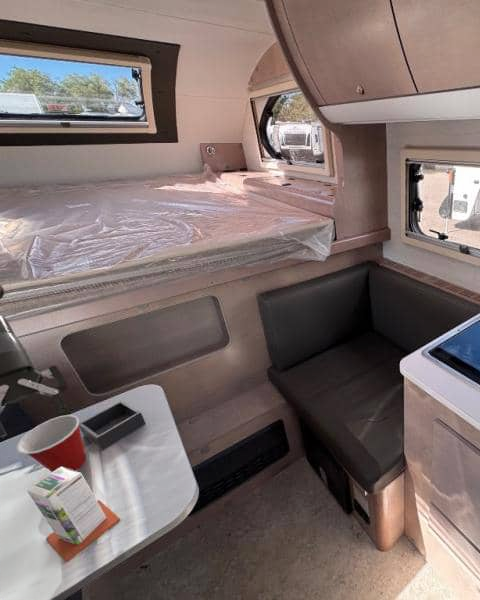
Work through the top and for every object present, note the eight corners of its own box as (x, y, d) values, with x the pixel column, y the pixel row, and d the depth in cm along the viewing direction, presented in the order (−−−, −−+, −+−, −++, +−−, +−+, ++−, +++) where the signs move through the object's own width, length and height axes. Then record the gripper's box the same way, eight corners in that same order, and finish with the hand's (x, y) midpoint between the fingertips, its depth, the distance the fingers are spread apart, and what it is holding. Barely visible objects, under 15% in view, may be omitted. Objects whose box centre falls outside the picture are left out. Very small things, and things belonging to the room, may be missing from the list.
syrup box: (57, 538, 66) (23, 492, 60) (88, 510, 71) (60, 464, 65) (78, 546, 65) (45, 499, 59) (108, 516, 70) (81, 471, 64)
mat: (66, 562, 63) (66, 561, 62) (46, 539, 66) (45, 537, 66) (120, 519, 70) (119, 518, 70) (99, 500, 74) (98, 499, 73)
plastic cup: (30, 476, 79) (5, 440, 74) (84, 443, 88) (65, 409, 83) (52, 494, 75) (28, 458, 70) (107, 457, 84) (88, 423, 79)
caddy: (103, 450, 86) (96, 438, 84) (84, 436, 90) (77, 424, 88) (145, 423, 94) (140, 412, 92) (126, 411, 98) (121, 400, 96)
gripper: (-61, 368, 62) (-24, 442, 61) (43, 338, 72) (77, 400, 71) (-47, 380, 67) (-13, 447, 66) (49, 350, 78) (80, 408, 76)
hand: (34, 423), depth 68 cm, fingers open, 8 cm apart
